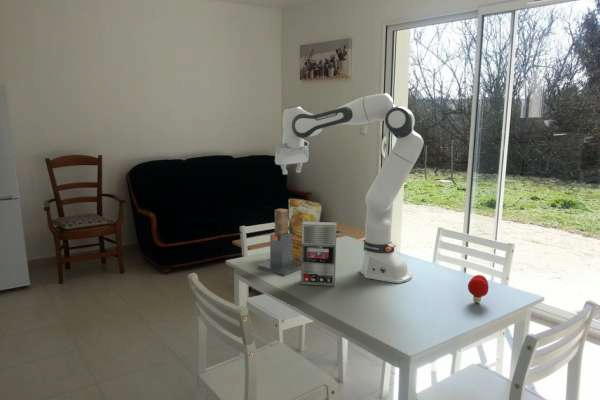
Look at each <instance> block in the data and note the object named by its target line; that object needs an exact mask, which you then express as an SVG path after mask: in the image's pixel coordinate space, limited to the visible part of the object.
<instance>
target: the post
mask: <svg viewBox="0 0 600 400" xmlns="http://www.w3.org/2000/svg"><path fill="white" fill-rule="evenodd" d="M274 233H275V234H274ZM274 233H273V234H274V235H278V236H285V235H288V233H289V209H287V208H277V209H274Z"/></svg>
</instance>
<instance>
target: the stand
mask: <svg viewBox="0 0 600 400" xmlns="http://www.w3.org/2000/svg"><path fill="white" fill-rule="evenodd" d="M274 234H275V232H274V233H270V234H269V236H270V237H269V238H270V239H269V241H270V245H269V246H270V247H269V249H270V251H269V255H270V257H269V259H270V260H267V261H263V262H261V263H259V264H257V269H260V270H263V271H267V272H270V273H274V274H276V275H277V274H278V275H281V276H284V277H286V276H288V275H291V274H293V273H295V272H298V271H301V262H297V261H294V260H293V257H292V242H293V234H290V233H289V232H288V235H285V236H278V235H274Z"/></svg>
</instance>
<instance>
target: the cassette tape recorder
mask: <svg viewBox="0 0 600 400" xmlns="http://www.w3.org/2000/svg"><path fill="white" fill-rule="evenodd" d="M337 224H338V223H337V222H333V221H332V222H325V221H323V222H322V221H320V222H306V221H303V223H302V260H301V262H300V263H301V270H300V271H301V272H300V273H301V275H300V278H301V279H300V285H308V286H309V285H311V286H312V285H313V286H327V287H328V286H329V287H335V286H336V267H337V265H336V264H337V263H336V262H337V261H336V260H337V259H336V257H337V229H338V226H337Z"/></svg>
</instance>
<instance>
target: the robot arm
mask: <svg viewBox="0 0 600 400" xmlns="http://www.w3.org/2000/svg"><path fill="white" fill-rule="evenodd" d="M378 121H384V124H385V126H386V128H387V130H388V131H389V132H390V133H391V134H392V135H393V137H395V138H396V141H395V143H394V145H393V147H392V149H391V151H390V152H389V153H388V156H387V157H386V160H385V161H384V163H383V164H382V166H381V168H380V170H379V171H378V173H377V175H376V176H375V179H374V180H373V182H372V183H371V186H370V188H369V189H368V190H367V192H366V193H365V194H366V195H365V204H366V217H365V232H364V234H365V236H364V240H363V258H362V264H361V266H360V270H359V272H360V273H361V274H362V275H363V277H364V279H372V280H376V281H381V282H389V283H394V284H402V283H406V282H408V281H410V280H411V279H412V278H413V273H412V272H410V271H408V264H407V262H406V260H405V259H404V258H402V257H401V256H400V255H399V254H398V253H397V252H396V251H395V248H396V247H397V244H396V243H395V244H393V242H392V226H393V225H392V223H393V221H392V220H393V209H394V207H393V206H394V201H395V199H396V197H397V196H398V194H399V193H400V190H401V189H402V186H403V184H404V183H405V182H406V179H407V178H408V176H409V174H410V172H411V171H412V169H413V168H414V166H415V164H416V162H417V160H418V158H419V157H420V154H421V152H422V150H423V147H424V138H423V137H422V136H421V135H420V134H419V133H417V132H416V131H415V130H414V129H415V128H416V124H417V122H416V121H417V119H416V116H415V115H414V113H413V112H412V111H411V110H410V109H408V108H407V107H404V106H399V105H398V106H395V103H394V100H393V98H392V96H391V95H389V94H388V93H376V94H371V95H367V96H362V97H359V98H357V99H354V100H352V101H350V102H348V103H346V104H343V105H341V106H340V107H337V108H335V109H331V110H328V111H323V112H320V113H317V114H314V113H311V112H308V111H306V110H305V109H303V108H302V107H301V106H299V105H298V106H297V105H295V106H290V107H286V108H285V109H284V111H283V114H282V130H283V131H282V140H281V141H282V143H279V144H278V145H277V146H276V150H275V154H274V155H275V157H274V163H275V165H278V166H280V169H281V171H282V175H288V174H289V173H288V171H289V170H287V165H292V164H293V165H294V164H296V165H297V166H296V168H295V173H297V174H298V173H299V174H300V173H301V172H302V170H301V169H302V168H303V163H304V164H305V163H307V162H308V161H309V144H310V143H309V141H307V140H306V139H305V138H309V137H315V136H318V135H319V134H321V132H322V131H323V129H325V128H330V127H333V126H338V125H350V126H354V125H355V126H356V125H357V126H359V125H366V124H370V123H373V122H378Z"/></svg>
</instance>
